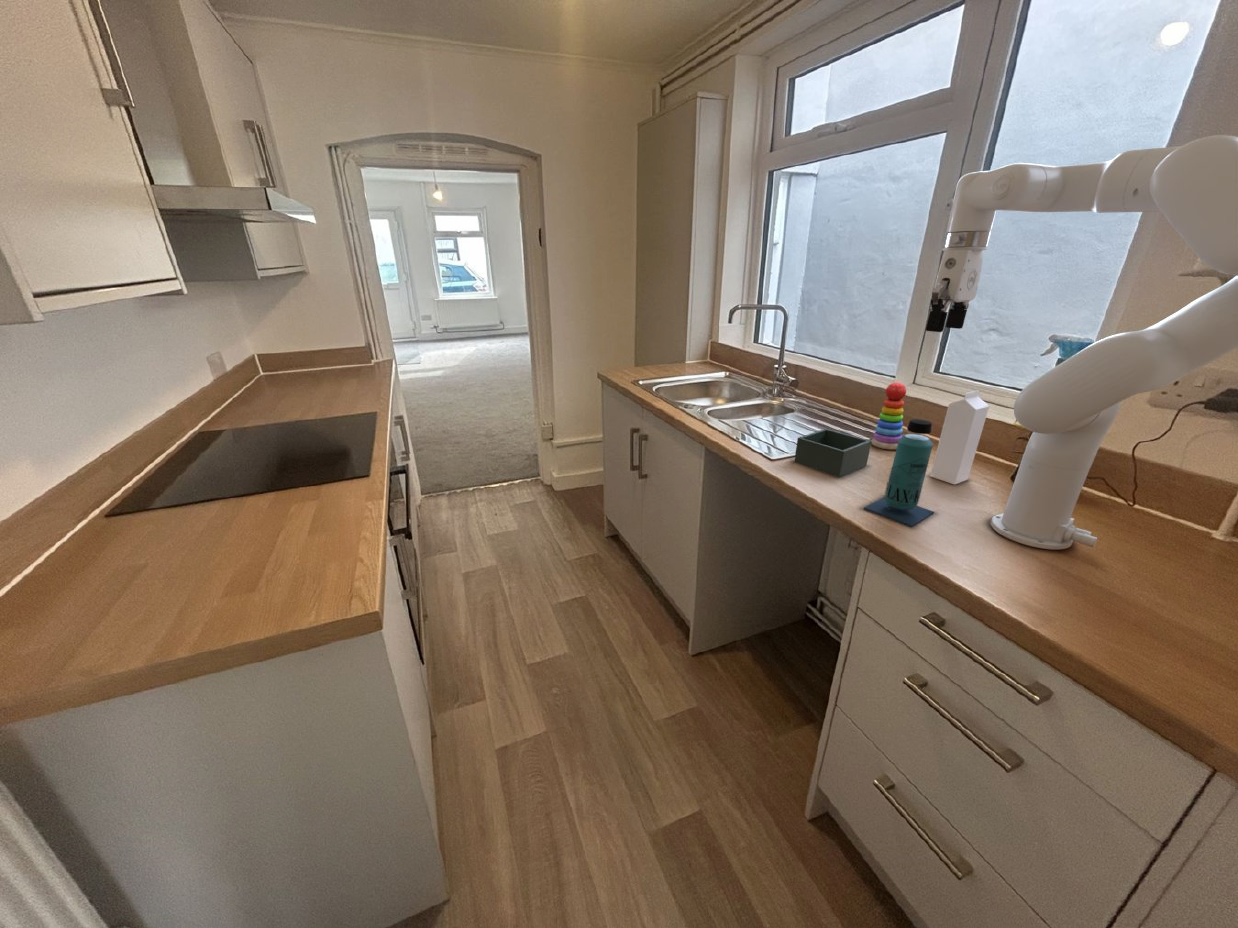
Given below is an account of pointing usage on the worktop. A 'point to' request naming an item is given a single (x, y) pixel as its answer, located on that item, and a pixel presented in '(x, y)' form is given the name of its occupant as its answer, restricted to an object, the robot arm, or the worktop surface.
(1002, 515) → the robot arm
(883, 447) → the stacking toy
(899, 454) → the beverage bottle
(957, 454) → the milk
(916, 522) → the mat
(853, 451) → the basket
